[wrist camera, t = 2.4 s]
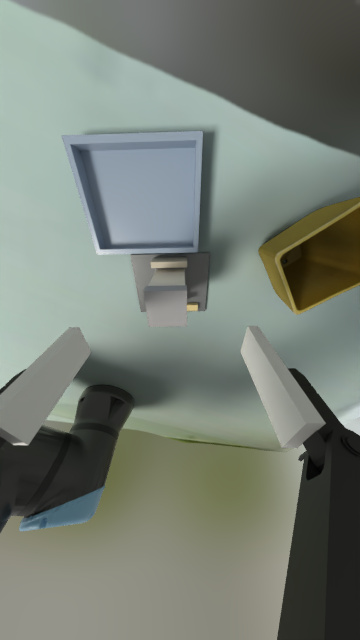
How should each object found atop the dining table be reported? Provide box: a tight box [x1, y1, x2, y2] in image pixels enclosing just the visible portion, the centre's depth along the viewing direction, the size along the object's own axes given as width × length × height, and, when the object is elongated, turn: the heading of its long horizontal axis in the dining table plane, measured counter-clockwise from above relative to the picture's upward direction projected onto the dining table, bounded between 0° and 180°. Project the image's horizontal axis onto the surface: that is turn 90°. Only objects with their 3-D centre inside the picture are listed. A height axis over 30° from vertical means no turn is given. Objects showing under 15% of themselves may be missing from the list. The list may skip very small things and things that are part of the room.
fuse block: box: [131, 253, 210, 312], centre depth 25 cm, size 12×10×4 cm
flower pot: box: [258, 197, 360, 315], centre depth 19 cm, size 9×9×9 cm
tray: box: [62, 131, 203, 254], centre depth 19 cm, size 14×11×2 cm
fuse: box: [143, 268, 187, 327], centre depth 21 cm, size 4×4×10 cm
